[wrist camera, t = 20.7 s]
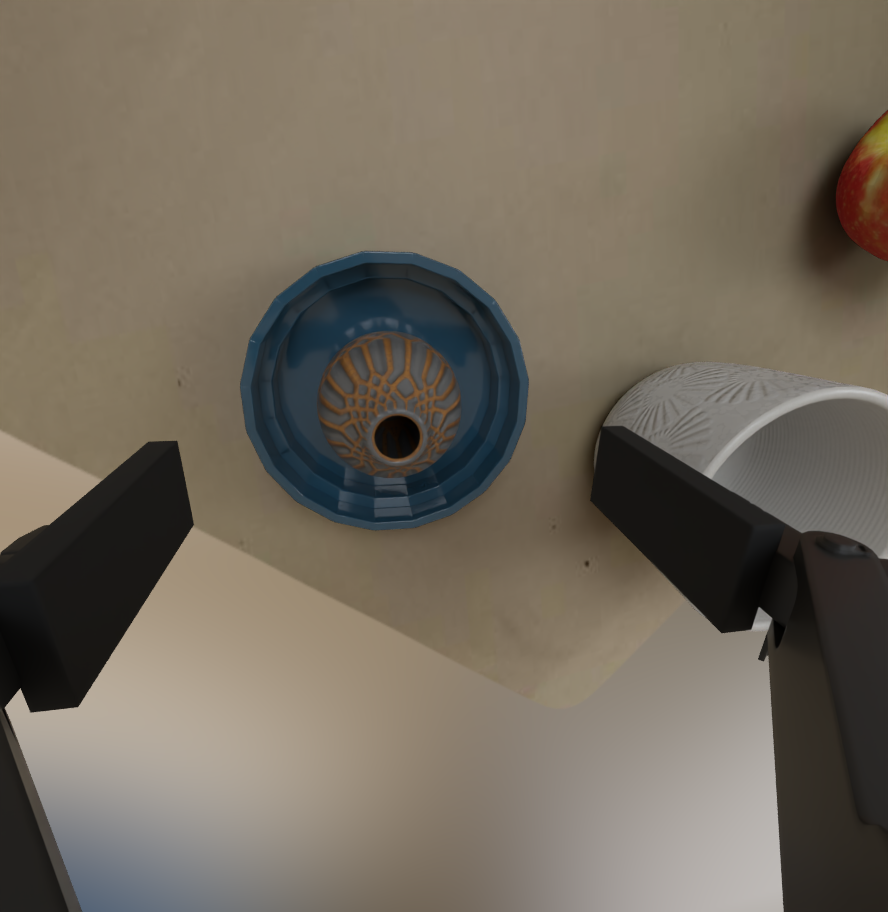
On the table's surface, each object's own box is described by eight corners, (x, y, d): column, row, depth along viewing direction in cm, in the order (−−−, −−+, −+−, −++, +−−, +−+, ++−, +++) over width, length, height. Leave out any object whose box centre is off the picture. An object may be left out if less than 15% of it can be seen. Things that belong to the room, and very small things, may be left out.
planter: (541, 421, 29) (634, 498, 19) (714, 306, 29) (906, 325, 19) (618, 555, 34) (725, 673, 24) (769, 460, 33) (946, 542, 23)
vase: (383, 468, 28) (392, 547, 20) (295, 383, 26) (265, 435, 18) (471, 391, 27) (517, 441, 19) (390, 296, 25) (404, 307, 17)
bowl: (242, 250, 24) (220, 246, 20) (514, 258, 26) (539, 255, 22) (273, 503, 29) (260, 538, 25) (498, 491, 31) (517, 521, 27)
